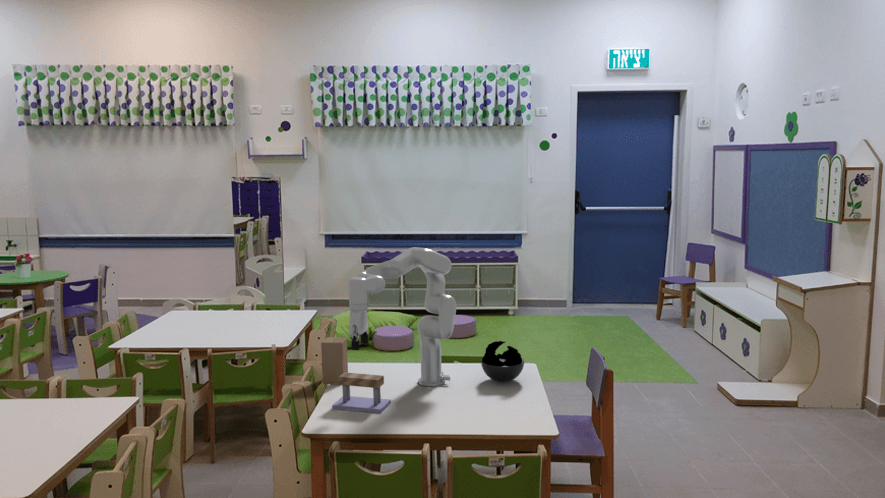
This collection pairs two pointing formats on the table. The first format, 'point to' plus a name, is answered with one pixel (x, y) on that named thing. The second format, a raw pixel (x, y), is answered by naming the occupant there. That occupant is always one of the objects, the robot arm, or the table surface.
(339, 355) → the wooden block
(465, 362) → the table surface
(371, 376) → the shelf board
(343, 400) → the peg stand
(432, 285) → the robot arm
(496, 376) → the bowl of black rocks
